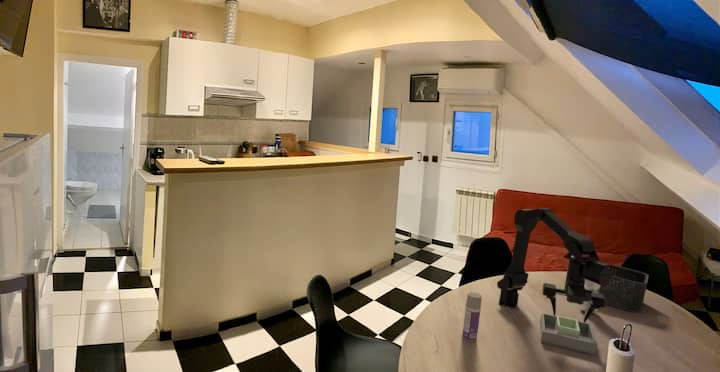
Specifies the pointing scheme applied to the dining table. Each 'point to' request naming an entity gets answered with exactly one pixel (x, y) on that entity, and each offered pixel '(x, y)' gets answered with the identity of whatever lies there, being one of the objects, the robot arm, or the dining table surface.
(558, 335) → the large crate
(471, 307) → the container
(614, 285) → the storage bin
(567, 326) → the small crate
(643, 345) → the dining table surface
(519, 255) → the robot arm
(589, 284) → the plastic bottle
